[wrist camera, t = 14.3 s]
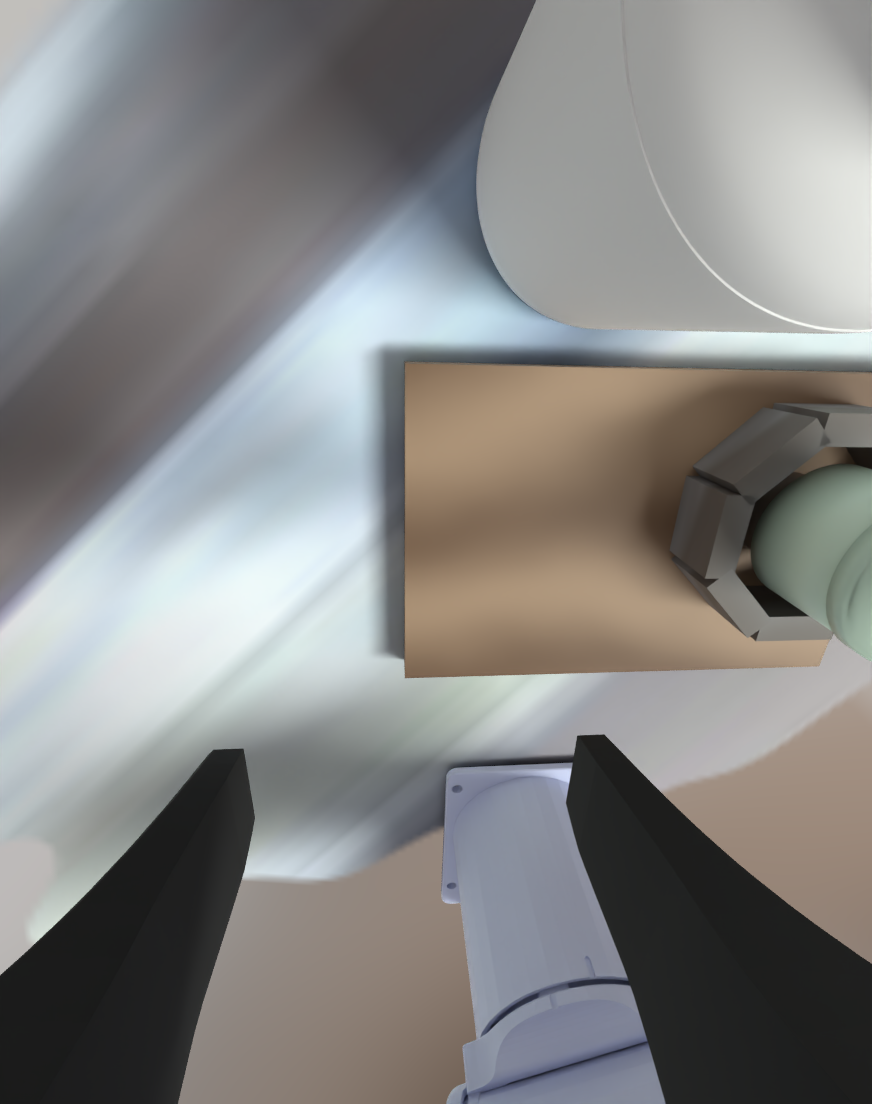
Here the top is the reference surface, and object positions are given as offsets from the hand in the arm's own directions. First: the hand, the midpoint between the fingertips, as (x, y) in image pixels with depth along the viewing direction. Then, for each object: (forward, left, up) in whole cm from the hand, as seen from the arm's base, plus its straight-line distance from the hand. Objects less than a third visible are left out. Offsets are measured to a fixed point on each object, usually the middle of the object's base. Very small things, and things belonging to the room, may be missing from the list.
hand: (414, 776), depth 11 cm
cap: (+3, -14, -7) cm, 16 cm away
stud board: (+2, -9, -10) cm, 14 cm away
